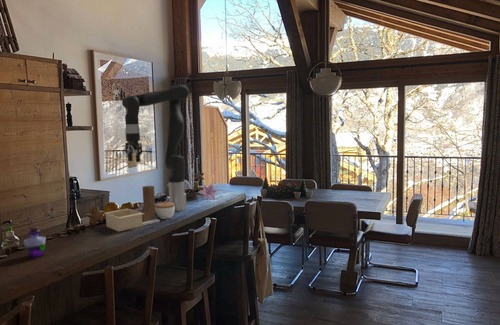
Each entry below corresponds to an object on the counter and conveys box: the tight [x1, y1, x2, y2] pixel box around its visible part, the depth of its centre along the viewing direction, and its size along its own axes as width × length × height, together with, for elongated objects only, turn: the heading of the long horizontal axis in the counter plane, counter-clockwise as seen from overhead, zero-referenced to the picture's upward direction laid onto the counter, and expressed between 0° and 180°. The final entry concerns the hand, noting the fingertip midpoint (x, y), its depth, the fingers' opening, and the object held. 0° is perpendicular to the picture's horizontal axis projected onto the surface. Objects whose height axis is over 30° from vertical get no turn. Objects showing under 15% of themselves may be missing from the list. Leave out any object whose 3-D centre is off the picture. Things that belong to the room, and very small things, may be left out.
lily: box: [198, 183, 218, 200], centre depth 275 cm, size 12×12×10 cm
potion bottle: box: [23, 226, 47, 259], centre depth 162 cm, size 9×9×12 cm
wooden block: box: [140, 185, 157, 222], centre depth 213 cm, size 9×4×18 cm, turn 148°
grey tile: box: [142, 218, 161, 226], centre depth 214 cm, size 10×11×1 cm
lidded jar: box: [155, 200, 176, 220], centre depth 222 cm, size 11×11×9 cm
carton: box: [103, 208, 144, 232], centre depth 205 cm, size 13×18×7 cm
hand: (134, 161), depth 223 cm, fingers open, 8 cm apart
